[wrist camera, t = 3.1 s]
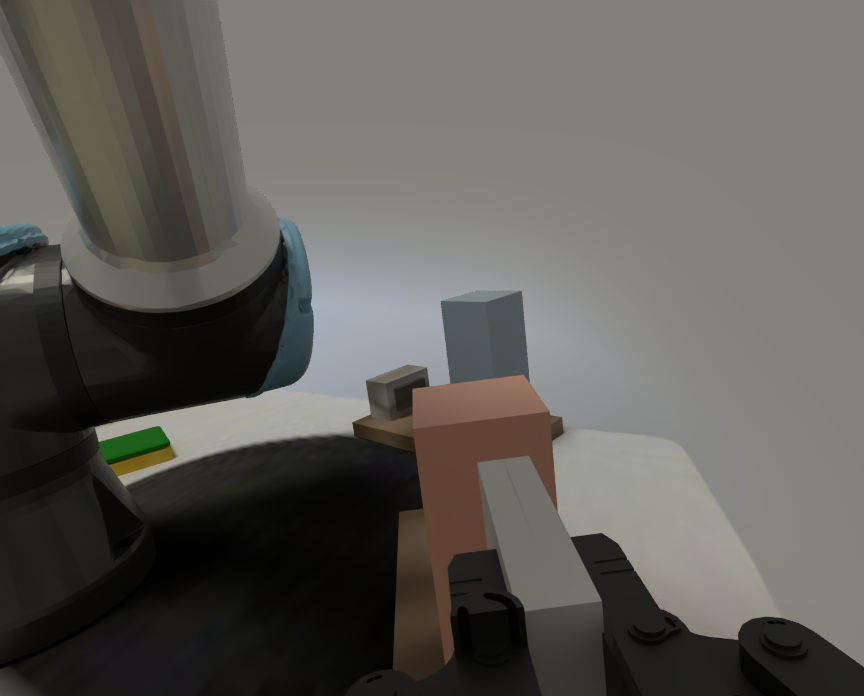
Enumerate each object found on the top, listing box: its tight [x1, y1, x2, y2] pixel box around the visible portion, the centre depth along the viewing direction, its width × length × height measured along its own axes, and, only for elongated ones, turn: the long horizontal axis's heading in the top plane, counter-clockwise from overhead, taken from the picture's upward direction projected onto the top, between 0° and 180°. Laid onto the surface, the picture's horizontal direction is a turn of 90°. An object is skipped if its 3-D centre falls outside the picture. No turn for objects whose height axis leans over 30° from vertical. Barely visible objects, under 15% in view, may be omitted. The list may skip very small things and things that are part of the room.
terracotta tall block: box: [413, 375, 558, 665], centre depth 25 cm, size 5×5×12 cm
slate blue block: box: [441, 291, 530, 384], centre depth 52 cm, size 5×5×12 cm
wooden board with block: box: [352, 365, 563, 453], centre depth 57 cm, size 18×10×6 cm, turn 47°
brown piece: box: [393, 509, 445, 682], centre depth 31 cm, size 18×10×6 cm, turn 2°
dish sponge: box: [99, 426, 174, 476], centre depth 59 cm, size 7×14×2 cm, turn 123°
